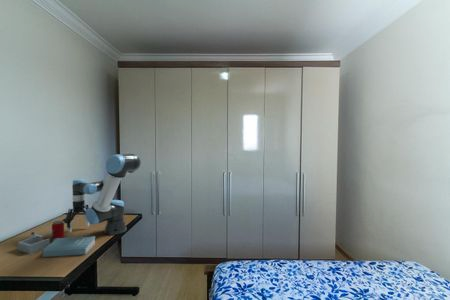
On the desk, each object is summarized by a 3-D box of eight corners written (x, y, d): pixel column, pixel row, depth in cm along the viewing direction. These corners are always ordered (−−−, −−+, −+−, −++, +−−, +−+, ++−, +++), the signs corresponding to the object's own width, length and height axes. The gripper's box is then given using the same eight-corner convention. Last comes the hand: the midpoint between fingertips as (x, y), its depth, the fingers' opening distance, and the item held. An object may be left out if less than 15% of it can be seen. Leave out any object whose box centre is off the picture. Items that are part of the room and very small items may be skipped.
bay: (58, 244, 153) (58, 236, 153) (31, 254, 139) (31, 246, 139) (44, 240, 159) (44, 233, 158) (17, 250, 145) (17, 242, 144)
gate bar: (44, 240, 158) (44, 234, 158) (41, 241, 157) (41, 235, 157) (33, 237, 163) (33, 231, 163) (30, 238, 161) (30, 232, 161)
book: (95, 243, 156) (95, 236, 156) (85, 255, 140) (85, 247, 140) (57, 245, 152) (57, 238, 152) (42, 258, 136) (42, 249, 136)
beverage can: (55, 237, 164) (55, 220, 163) (66, 237, 164) (66, 220, 164) (49, 241, 157) (49, 223, 157) (60, 241, 158) (60, 223, 157)
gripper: (90, 196, 187) (90, 222, 187) (57, 203, 164) (58, 233, 164) (97, 197, 184) (97, 224, 185) (65, 205, 161) (65, 235, 162)
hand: (78, 228), depth 175 cm, fingers open, 13 cm apart
